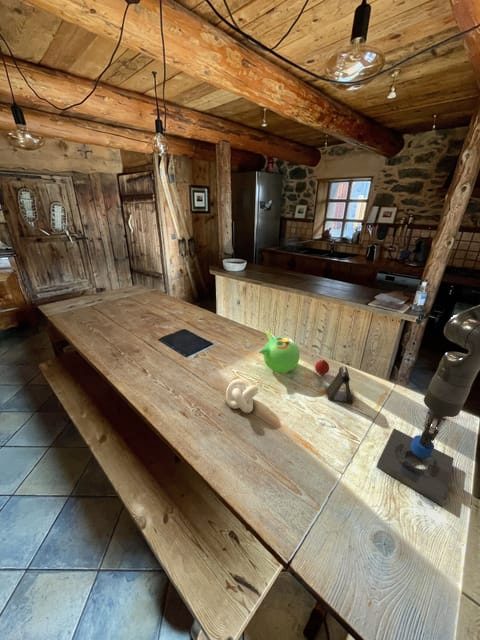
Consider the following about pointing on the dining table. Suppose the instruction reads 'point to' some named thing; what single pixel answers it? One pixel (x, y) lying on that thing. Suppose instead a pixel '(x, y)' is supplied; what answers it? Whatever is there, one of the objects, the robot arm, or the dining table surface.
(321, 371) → the strawberry
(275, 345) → the toy bird
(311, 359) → the dining table surface
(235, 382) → the cream knot sculpture
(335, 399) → the phone stand
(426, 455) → the sink plug
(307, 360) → the dining table surface
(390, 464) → the dark rectangular plate
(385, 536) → the dining table surface
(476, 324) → the robot arm
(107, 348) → the dining table surface
